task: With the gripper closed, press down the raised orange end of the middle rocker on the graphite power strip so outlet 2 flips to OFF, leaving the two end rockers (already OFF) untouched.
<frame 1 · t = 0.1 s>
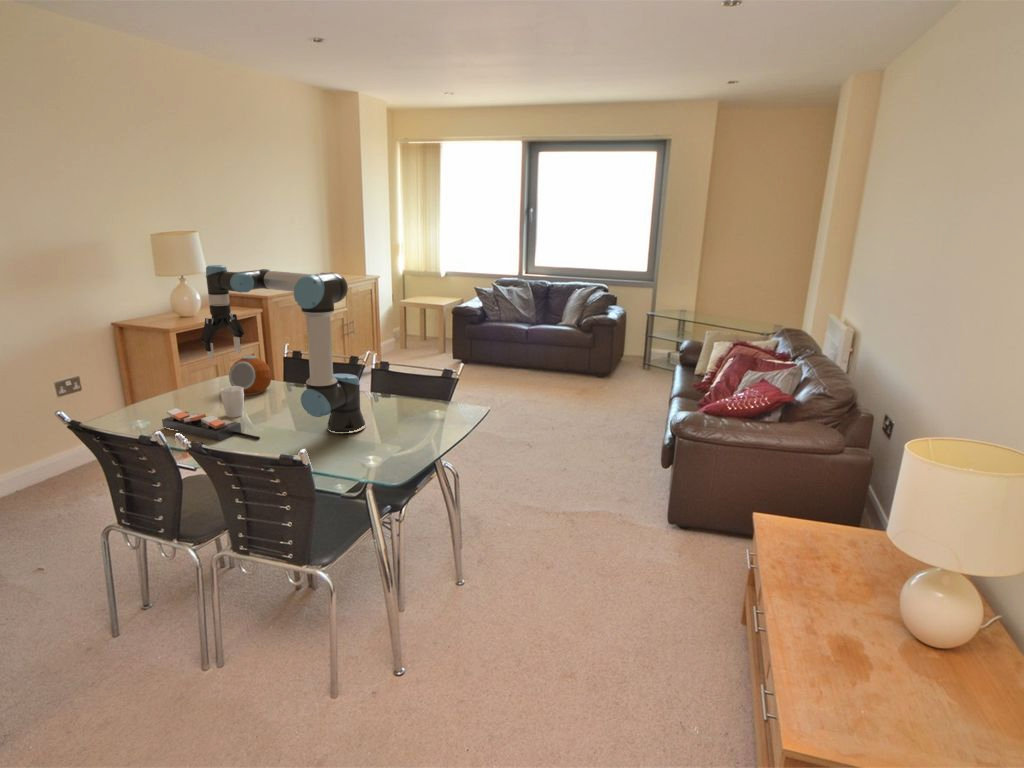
hand: (224, 355, 247), 28 cm above the table, fingers open, 13 cm apart
cup: (234, 415, 260), on the table
rocker 1: (213, 421, 234), point 6 cm above the table, hinge at -15.0°
rocker 2: (194, 417, 237), point 6 cm above the table, hinge at 15.0°
rocker 3: (178, 414, 241), point 6 cm above the table, hinge at -15.0°
power strip: (202, 430, 241), on the table
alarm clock: (251, 391, 294), on the table
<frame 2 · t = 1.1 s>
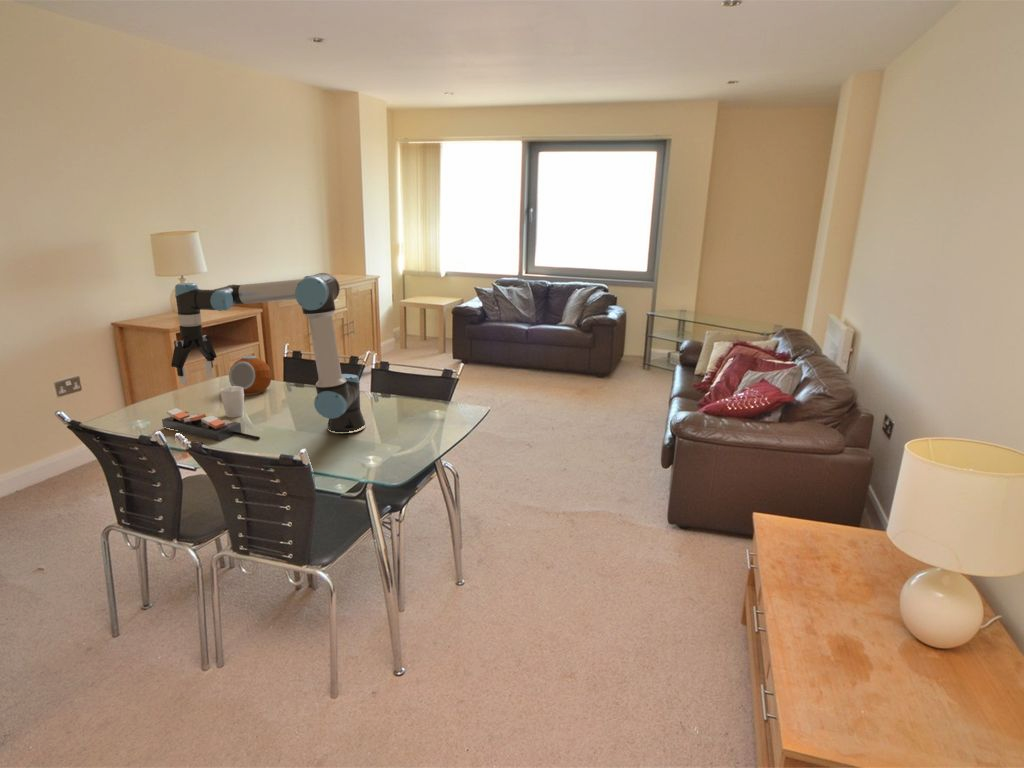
hand: (196, 380, 232), 22 cm above the table, fingers open, 11 cm apart
nothing on the table moved.
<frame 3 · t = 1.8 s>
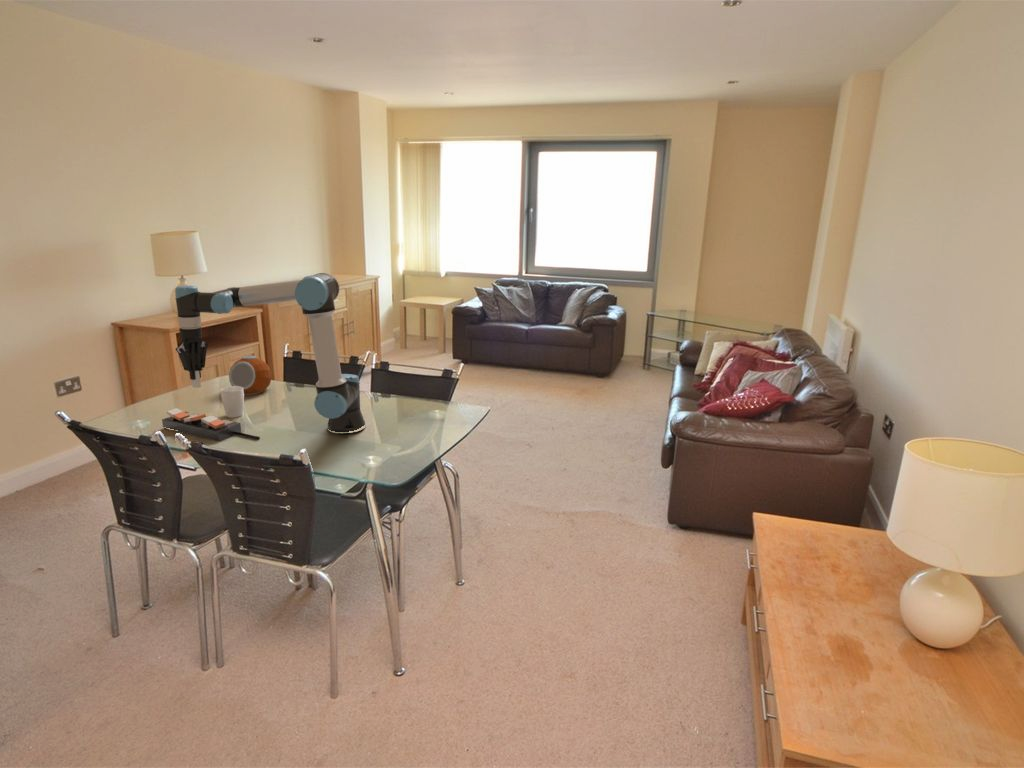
hand: (196, 386, 233), 20 cm above the table, fingers closed
nothing on the table moved.
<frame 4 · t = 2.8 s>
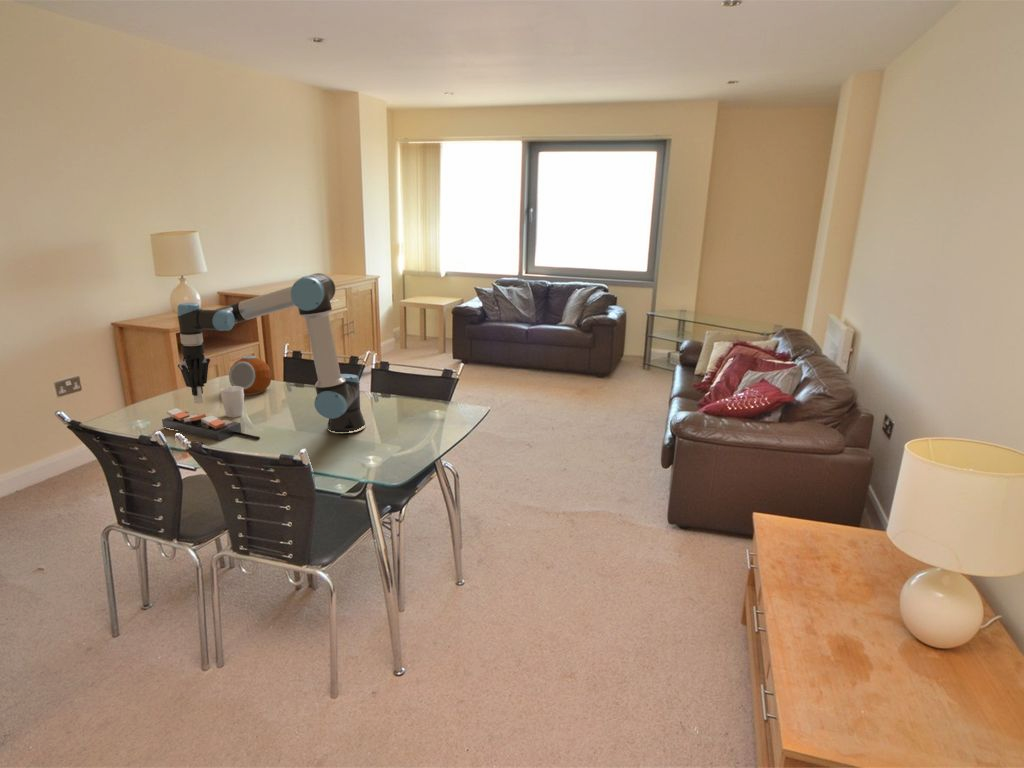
hand: (198, 402, 234), 13 cm above the table, fingers closed
nothing on the table moved.
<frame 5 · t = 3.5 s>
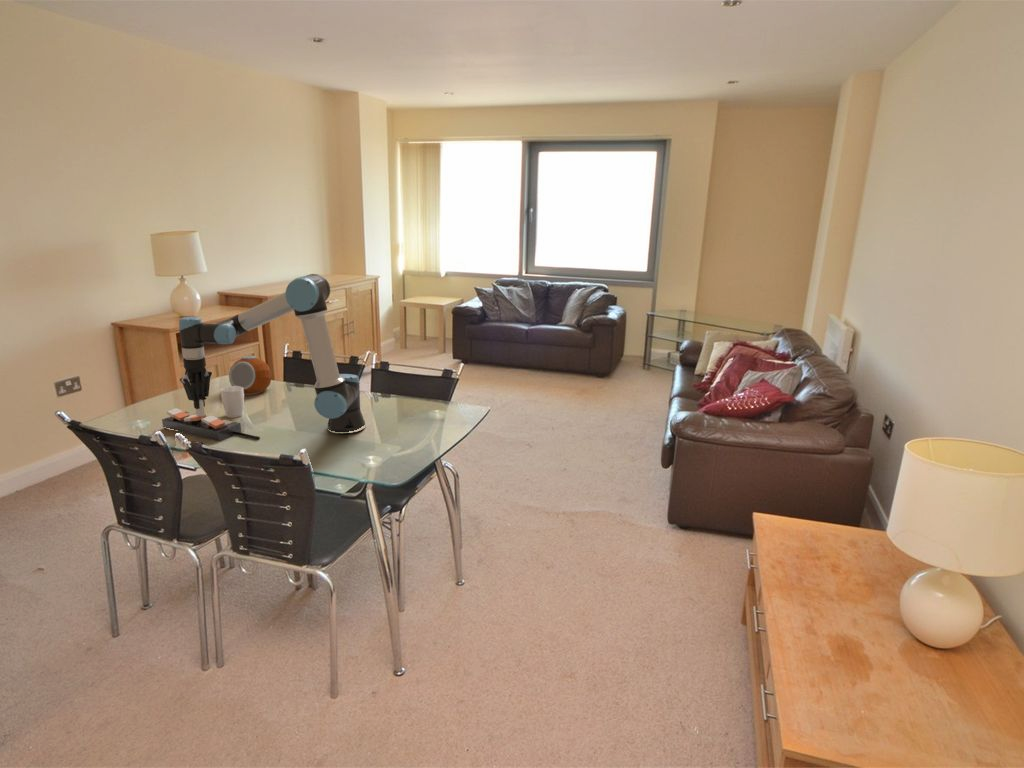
hand: (200, 415, 236), 8 cm above the table, fingers closed
rocker 2: (194, 417, 237), point 6 cm above the table, hinge at 11.3°, touching gripper
everything else where it was.
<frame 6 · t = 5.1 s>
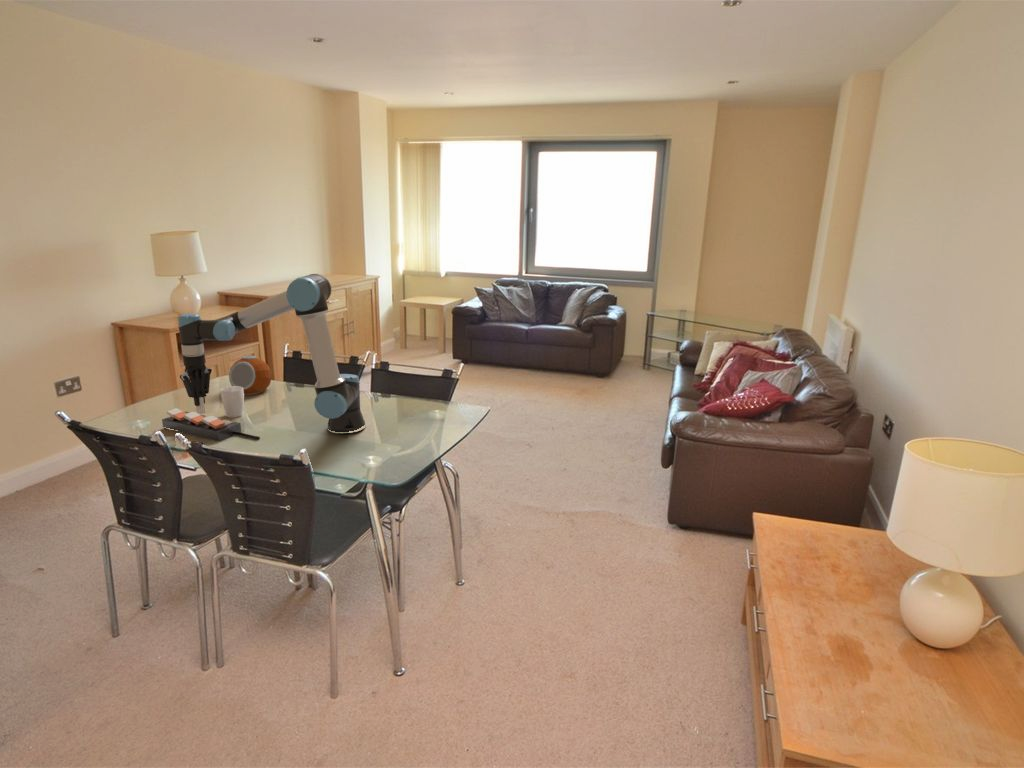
hand: (201, 412, 235), 9 cm above the table, fingers closed
rocker 2: (195, 418, 237), point 6 cm above the table, hinge at -16.1°
everything else where it was.
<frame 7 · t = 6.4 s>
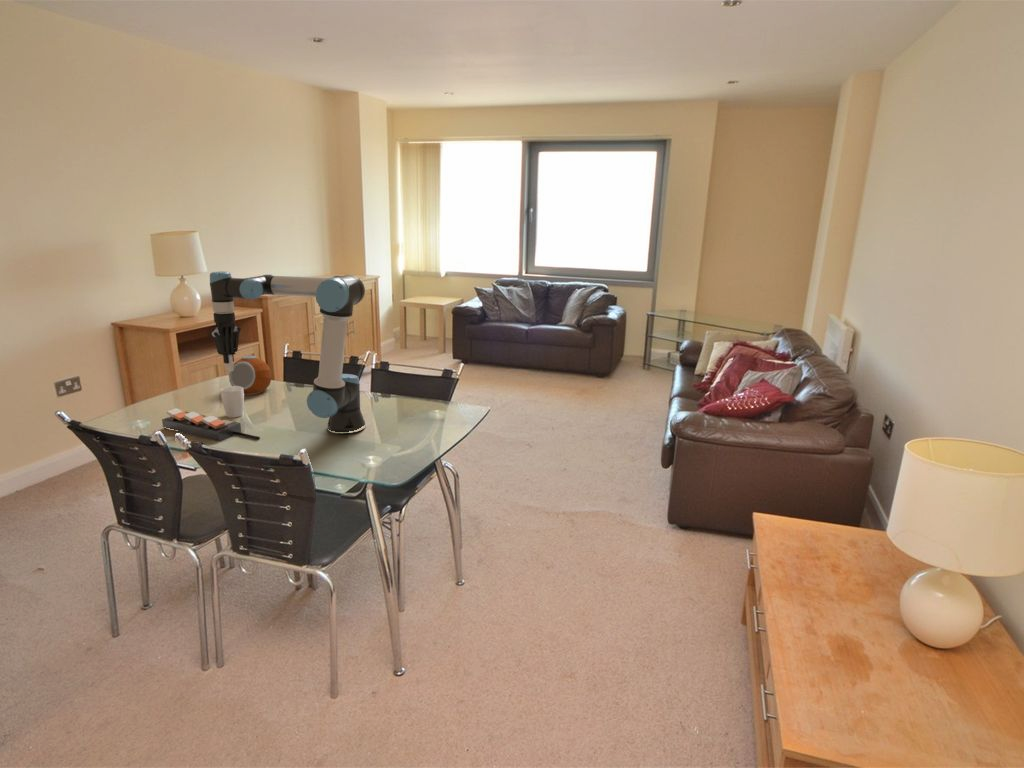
hand: (229, 370, 239), 24 cm above the table, fingers closed
nothing on the table moved.
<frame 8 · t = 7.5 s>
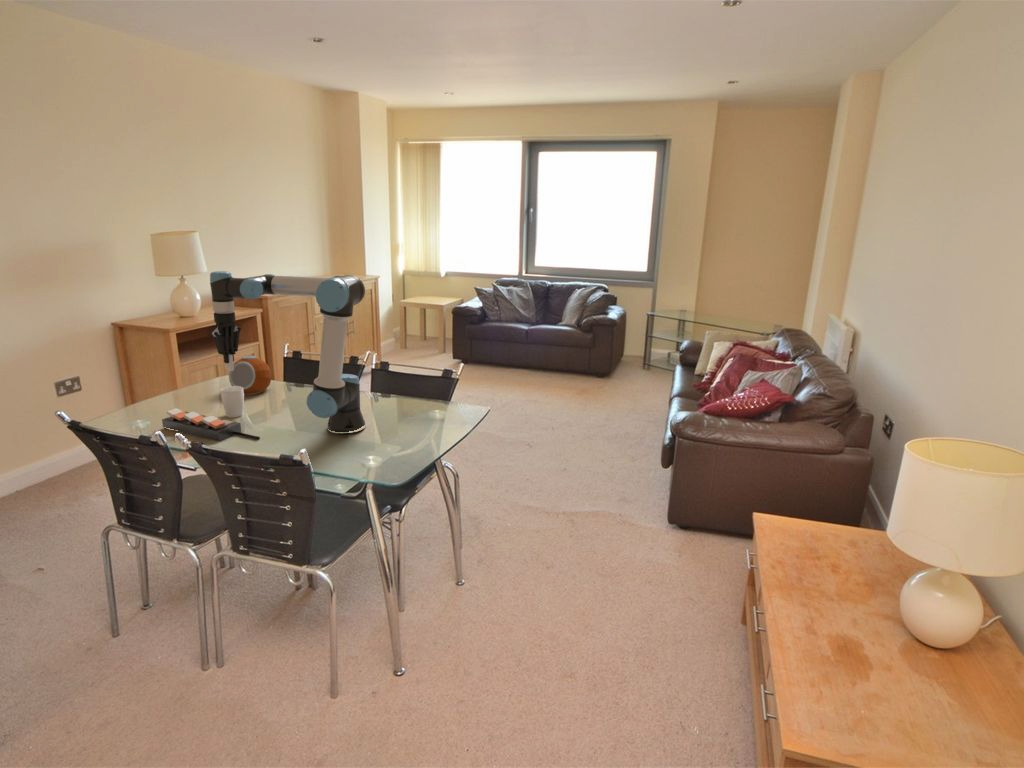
hand: (230, 370, 239), 24 cm above the table, fingers closed
nothing on the table moved.
at the end: rocker 2 at -16° (first picture: +15°); rocker 1 at -15° (first picture: -15°); rocker 3 at -15° (first picture: -15°) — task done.
